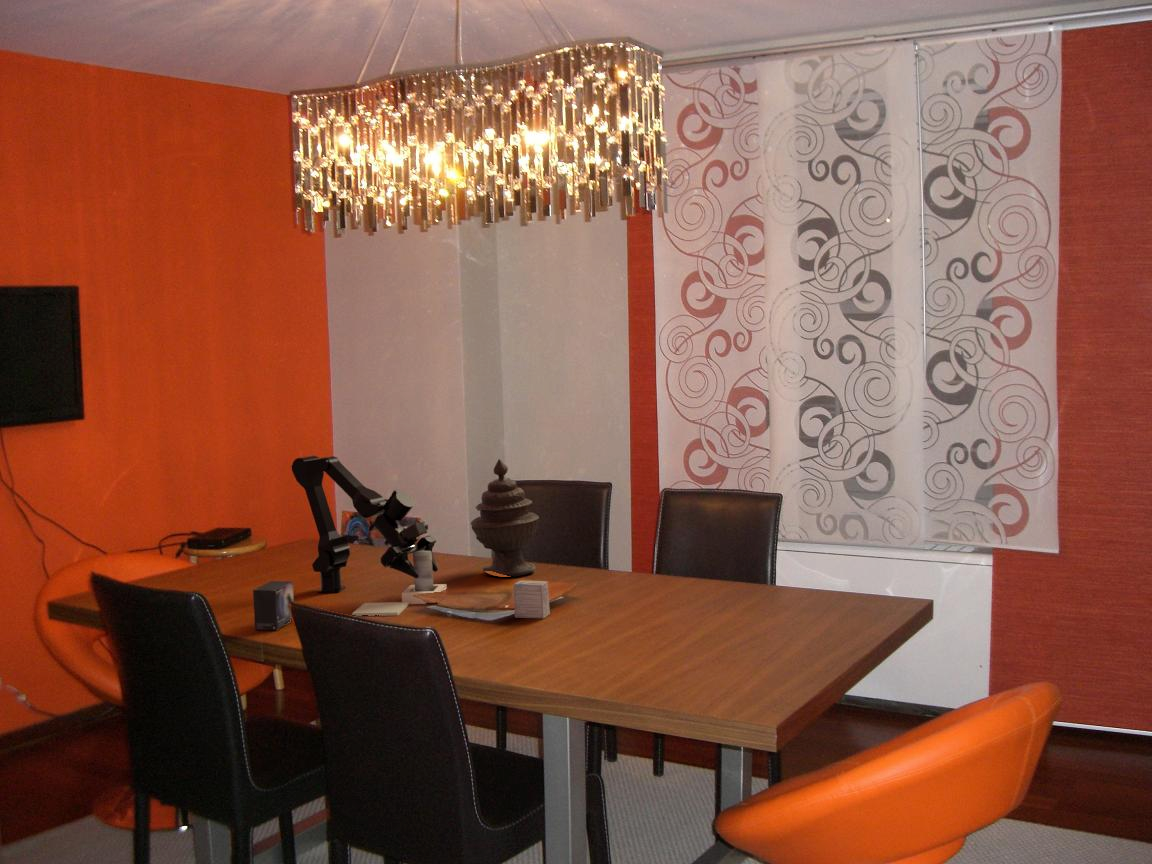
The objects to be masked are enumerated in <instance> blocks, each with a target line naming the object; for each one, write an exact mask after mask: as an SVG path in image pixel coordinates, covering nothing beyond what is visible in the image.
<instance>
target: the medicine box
mask: <svg viewBox="0 0 1152 864" xmlns="http://www.w3.org/2000/svg"><path fill="white" fill-rule="evenodd" d="M512 588H513V601H514V603H513V604H514V617H515V619H516V618H517V619H518V618H520V619H521V618H522V619H523V618H524V619H545V618H547V617H548V616H549V615H550V614H551V610H550V598H549V597H550V595H549V582H548V581H547V580H546V581H544V580H518V581H517V582H515V583H514V584H513V585H512Z"/></svg>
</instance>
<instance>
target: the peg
mask: <svg viewBox="0 0 1152 864" xmlns="http://www.w3.org/2000/svg"><path fill="white" fill-rule="evenodd" d="M432 553H433V551H432V552H431V551H416V552H413V553H412V560H413V561H412V562H413V567H414V568H415V569H416V571H417V572H418V574H419V577H418V578H414V577H413V578H414V585H415V592H417V591H434V587H433V584H434V573H433V572H434V571H433V569H432Z"/></svg>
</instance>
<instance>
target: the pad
mask: <svg viewBox="0 0 1152 864" xmlns="http://www.w3.org/2000/svg"><path fill="white" fill-rule="evenodd" d="M409 605H410V604H408V602H402V601H401V602H400V601H395V602H394V601H393V602H390V601H388V602H364V603H362V604H361V605H360V606H359V607H358V608H356V610H354V611H353V612H352V615H356V616H355V617H363V616H362V615H368V616H367V617H374V616H375V615H377V616H375V617H379V616H380V617H382V616H383V617H384V616H385V617H386V616H387V617H389V616H393V617H394V616H399V615H400V614H401V613H402V612H403V611H404V610H405V609H406V608H407V607H409ZM352 615H351V616H352ZM378 615H379V616H378Z"/></svg>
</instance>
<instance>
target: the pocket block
mask: <svg viewBox="0 0 1152 864" xmlns="http://www.w3.org/2000/svg"><path fill="white" fill-rule="evenodd" d="M433 587H434V591H417V592H415V584H410V585H409V586H408V587H407V588H405V590H404V591H403V592H402V593H401V602H408V604H409V605H427V604H426V603H425V602H424V601H423V600H422V599H420V598H417V597H414V596H413V595H418V594H426V593H434V592H441V591H443V590H446V589H447V590H448V587H447V583H443V584H442V583H440V584H439V583H438V584H434V583H433Z"/></svg>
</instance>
